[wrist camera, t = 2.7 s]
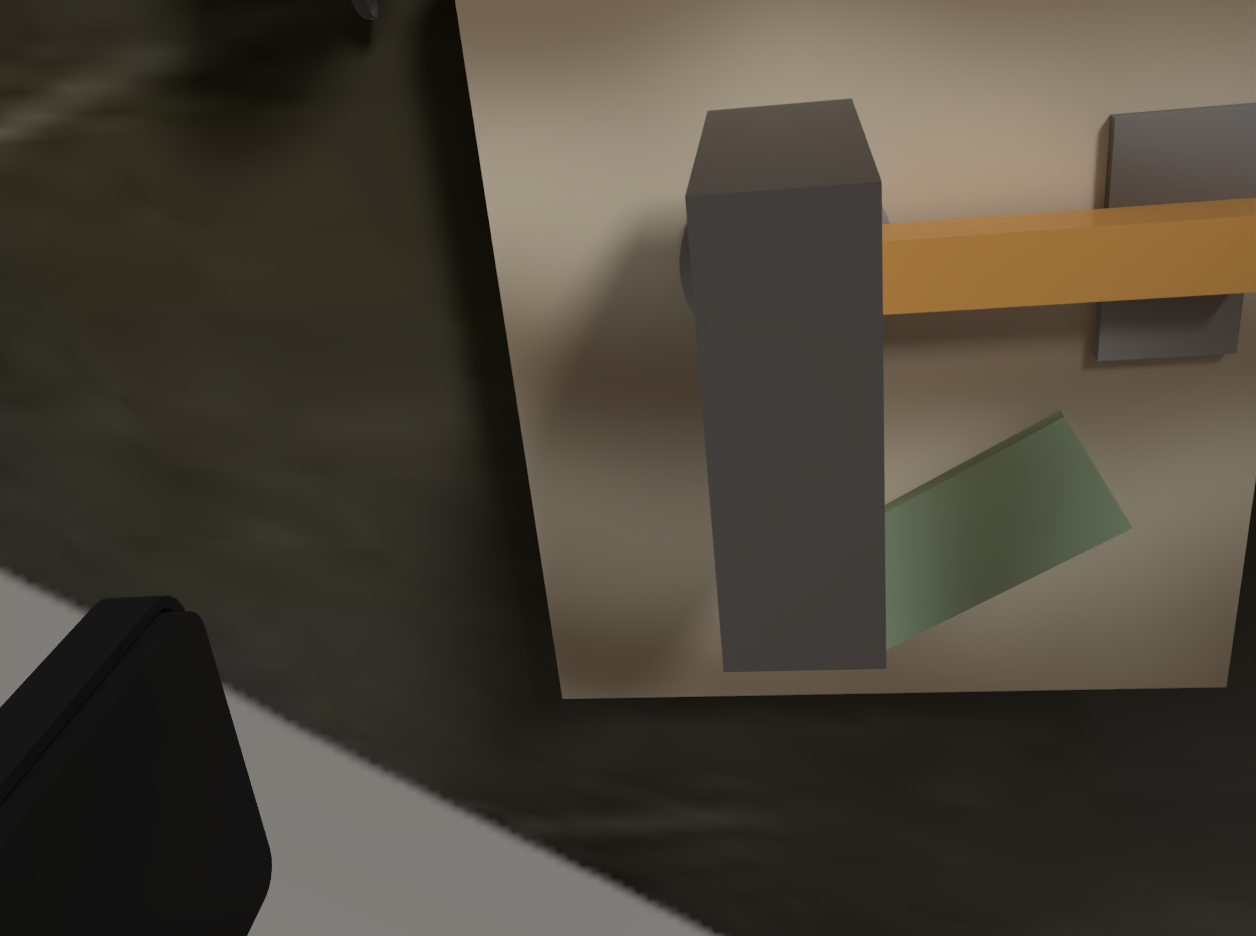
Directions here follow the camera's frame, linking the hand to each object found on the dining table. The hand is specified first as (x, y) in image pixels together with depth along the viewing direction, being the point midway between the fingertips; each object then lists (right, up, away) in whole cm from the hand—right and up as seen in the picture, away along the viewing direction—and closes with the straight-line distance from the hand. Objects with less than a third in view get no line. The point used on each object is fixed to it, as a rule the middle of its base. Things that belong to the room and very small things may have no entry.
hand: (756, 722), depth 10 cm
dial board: (+4, +5, +13) cm, 15 cm away
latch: (+5, +6, +10) cm, 12 cm away
